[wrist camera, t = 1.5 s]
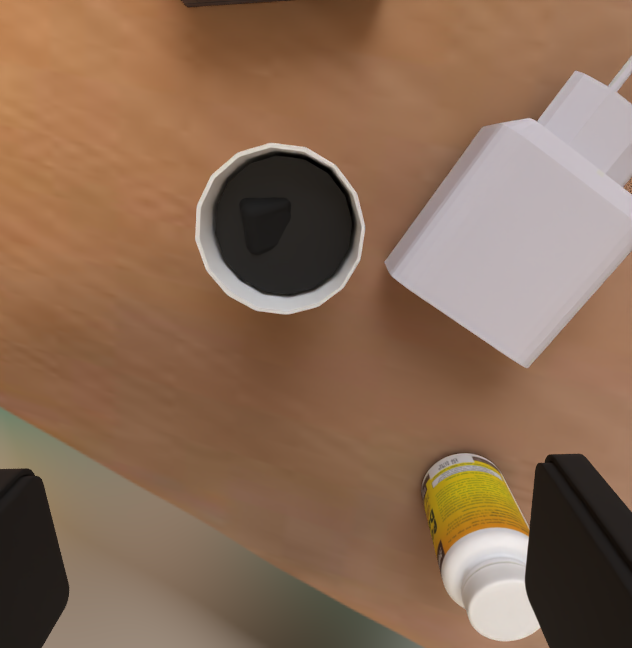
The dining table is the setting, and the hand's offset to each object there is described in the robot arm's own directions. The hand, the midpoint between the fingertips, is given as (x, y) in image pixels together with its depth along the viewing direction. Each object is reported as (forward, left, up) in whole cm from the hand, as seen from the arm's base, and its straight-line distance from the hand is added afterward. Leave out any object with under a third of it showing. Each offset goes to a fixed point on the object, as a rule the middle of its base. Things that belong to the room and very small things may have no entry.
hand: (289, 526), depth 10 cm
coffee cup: (+1, -4, -22) cm, 23 cm away
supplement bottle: (-9, +15, -22) cm, 28 cm away
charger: (-12, -4, -22) cm, 26 cm away
